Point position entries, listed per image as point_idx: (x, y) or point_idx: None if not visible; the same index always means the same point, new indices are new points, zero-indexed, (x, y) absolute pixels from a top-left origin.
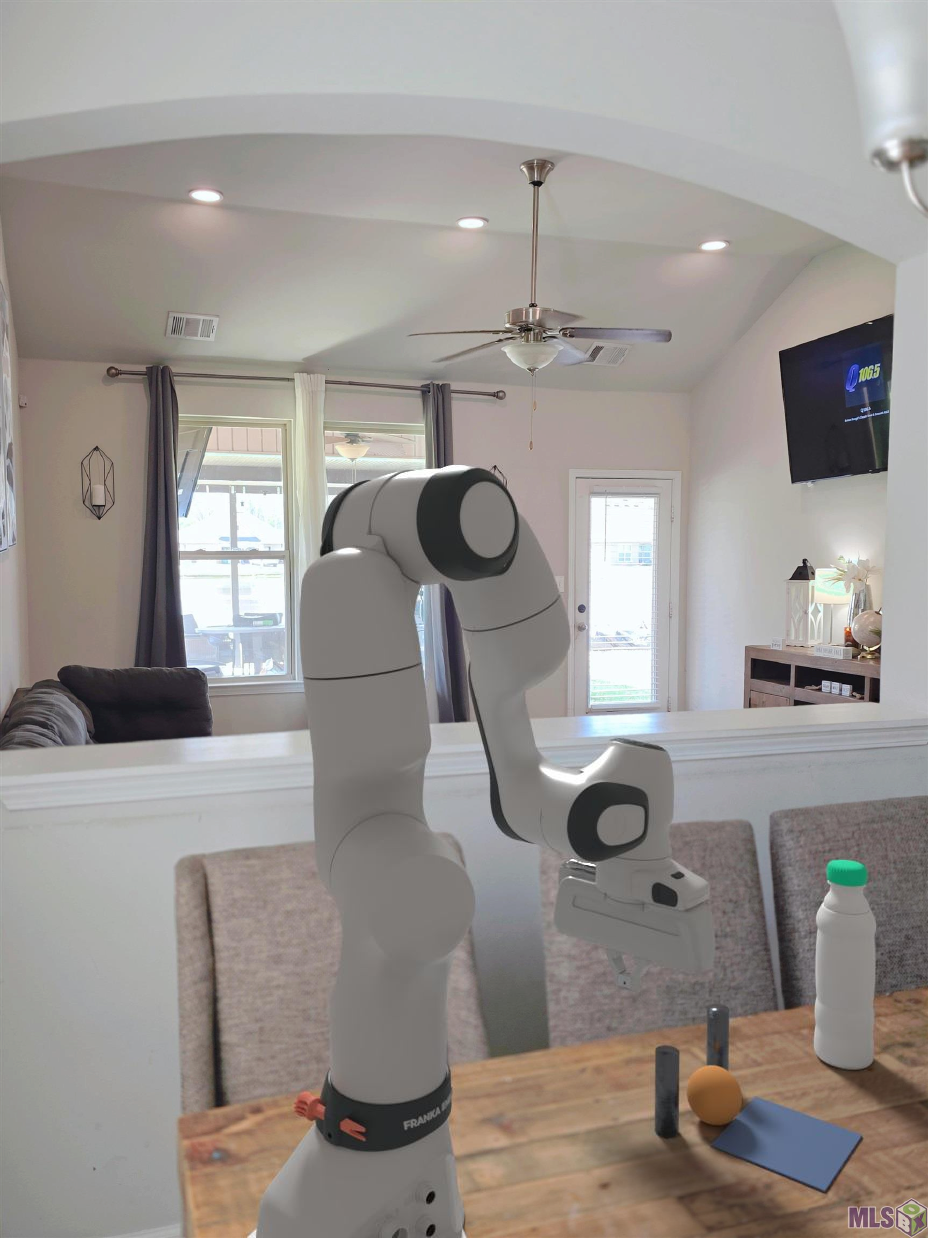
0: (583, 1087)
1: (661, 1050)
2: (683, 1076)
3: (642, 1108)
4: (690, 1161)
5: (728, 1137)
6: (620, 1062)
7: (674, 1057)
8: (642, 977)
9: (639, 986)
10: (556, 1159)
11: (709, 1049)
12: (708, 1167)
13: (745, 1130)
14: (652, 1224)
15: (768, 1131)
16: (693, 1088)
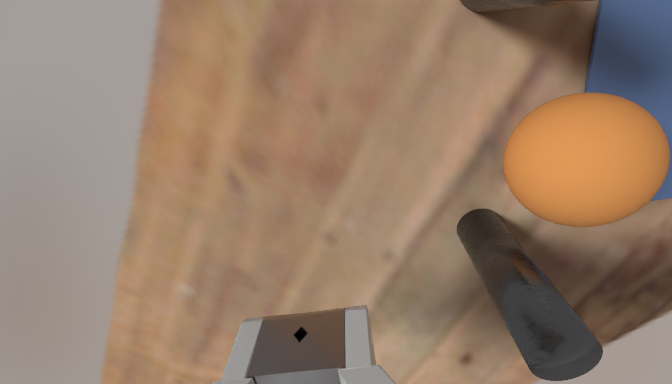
0: (283, 225)
1: (548, 366)
2: (403, 29)
3: (405, 202)
4: (546, 260)
5: None
6: (258, 97)
7: (593, 365)
8: (371, 352)
9: (371, 340)
10: (387, 361)
11: (517, 6)
12: (578, 253)
13: None
14: None
15: (668, 95)
16: (554, 222)
